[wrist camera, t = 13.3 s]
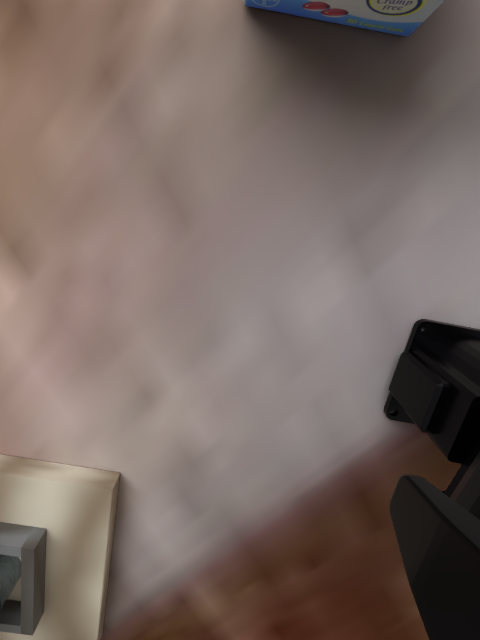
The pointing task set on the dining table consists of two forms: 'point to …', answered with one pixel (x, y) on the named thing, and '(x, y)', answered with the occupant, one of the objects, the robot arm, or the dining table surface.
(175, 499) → the dining table surface
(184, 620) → the dining table surface
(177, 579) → the dining table surface
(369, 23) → the medicine box
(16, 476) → the collar base
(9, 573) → the shiny steel cylinder
